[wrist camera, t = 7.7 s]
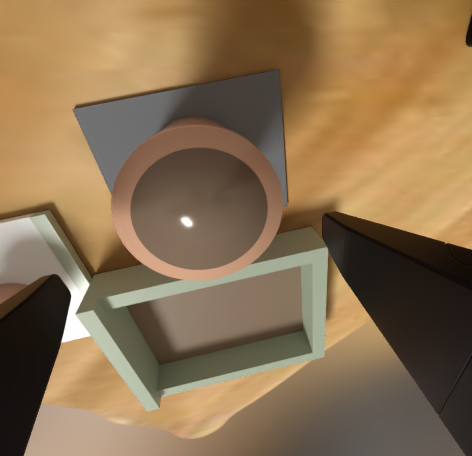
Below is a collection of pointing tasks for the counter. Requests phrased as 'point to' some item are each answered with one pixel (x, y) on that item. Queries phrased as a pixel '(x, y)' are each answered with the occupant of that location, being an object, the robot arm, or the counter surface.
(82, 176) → the counter surface
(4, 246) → the white square board
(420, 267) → the robot arm
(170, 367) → the green shallow rectangular frame
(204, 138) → the pot
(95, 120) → the mat
